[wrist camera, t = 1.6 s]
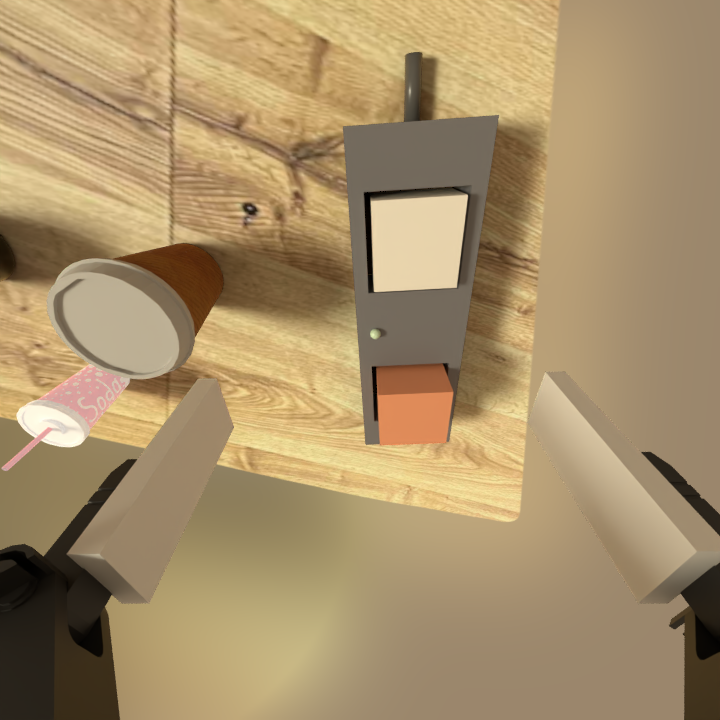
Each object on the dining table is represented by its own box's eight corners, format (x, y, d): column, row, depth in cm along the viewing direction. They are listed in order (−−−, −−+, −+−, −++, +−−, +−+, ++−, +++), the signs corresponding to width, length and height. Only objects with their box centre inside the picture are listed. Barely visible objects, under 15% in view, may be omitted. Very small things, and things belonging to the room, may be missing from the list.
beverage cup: (140, 396, 41) (53, 493, 30) (90, 388, 40) (-19, 484, 29) (131, 359, 38) (30, 452, 26) (77, 350, 37) (-52, 441, 25)
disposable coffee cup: (229, 226, 29) (161, 266, 19) (246, 317, 35) (200, 385, 25) (127, 223, 29) (5, 261, 19) (161, 315, 34) (79, 382, 25)
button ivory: (369, 193, 27) (371, 201, 23) (451, 187, 26) (467, 194, 22) (372, 272, 31) (374, 292, 26) (443, 268, 30) (456, 287, 26)
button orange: (376, 364, 33) (378, 395, 29) (441, 361, 33) (453, 391, 29) (377, 412, 37) (379, 445, 33) (436, 409, 37) (446, 442, 33)
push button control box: (341, 62, 23) (336, 39, 18) (484, 51, 22) (517, 24, 18) (365, 416, 43) (365, 449, 38) (440, 413, 43) (450, 446, 38)
